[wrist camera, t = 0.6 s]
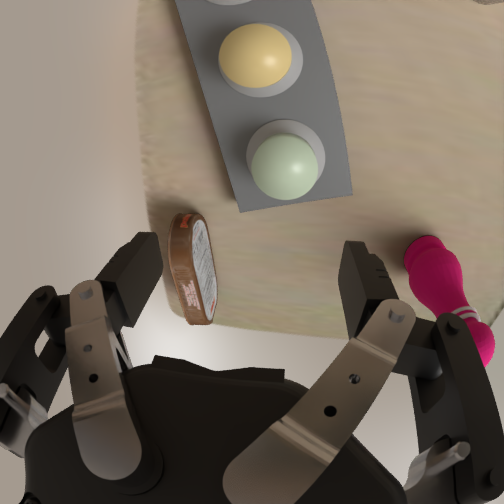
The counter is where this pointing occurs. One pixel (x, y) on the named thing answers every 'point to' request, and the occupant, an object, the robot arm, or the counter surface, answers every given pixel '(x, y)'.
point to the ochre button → (255, 56)
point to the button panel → (269, 95)
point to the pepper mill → (444, 288)
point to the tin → (193, 267)
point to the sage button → (284, 166)
